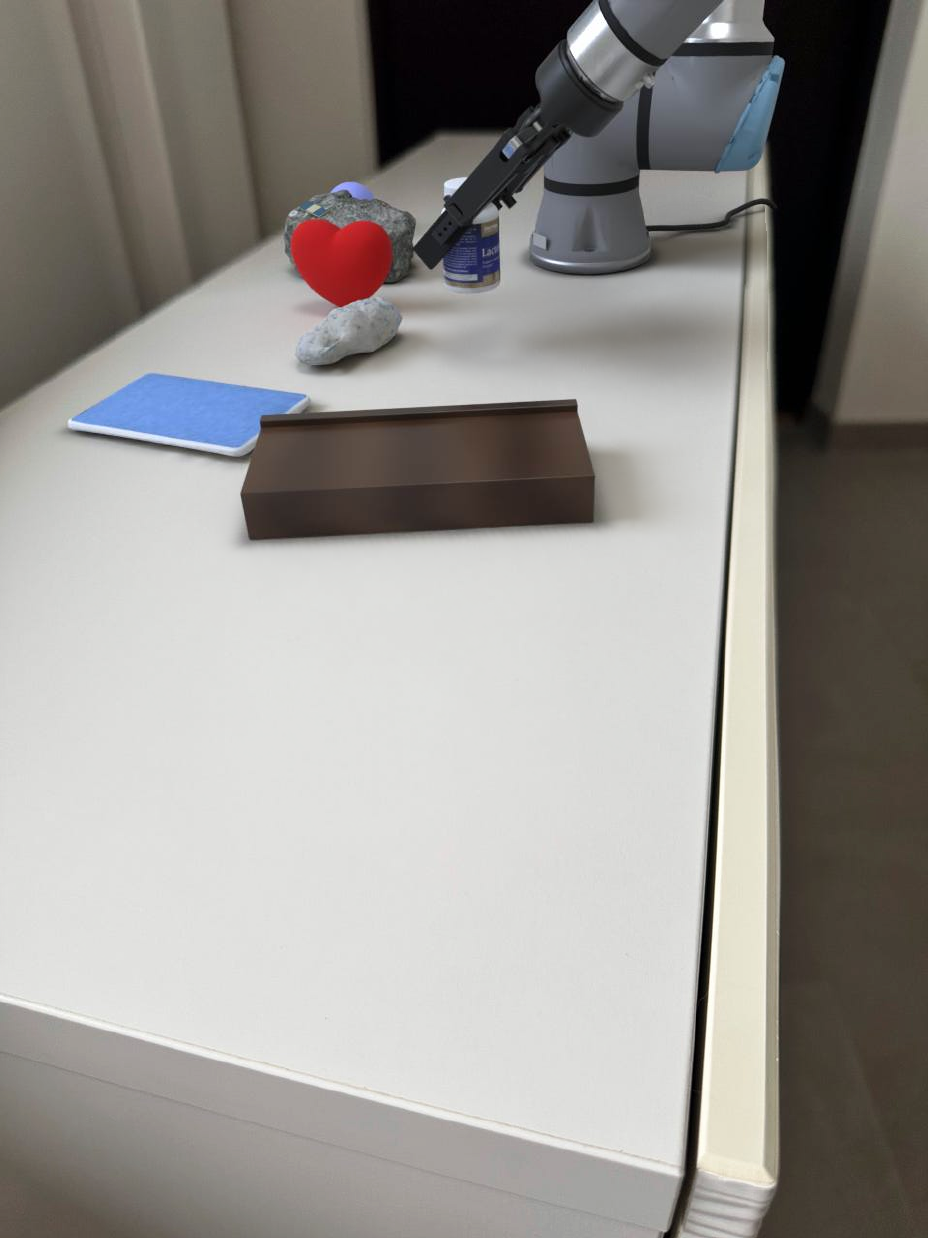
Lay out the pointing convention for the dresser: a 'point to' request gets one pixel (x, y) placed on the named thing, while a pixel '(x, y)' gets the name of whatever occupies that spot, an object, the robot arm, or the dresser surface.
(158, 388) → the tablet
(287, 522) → the ledge
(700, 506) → the dresser surface
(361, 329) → the decorative stone
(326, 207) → the rock
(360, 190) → the sphere
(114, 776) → the dresser surface
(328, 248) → the heart
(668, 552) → the dresser surface
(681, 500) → the dresser surface
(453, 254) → the pill bottle
